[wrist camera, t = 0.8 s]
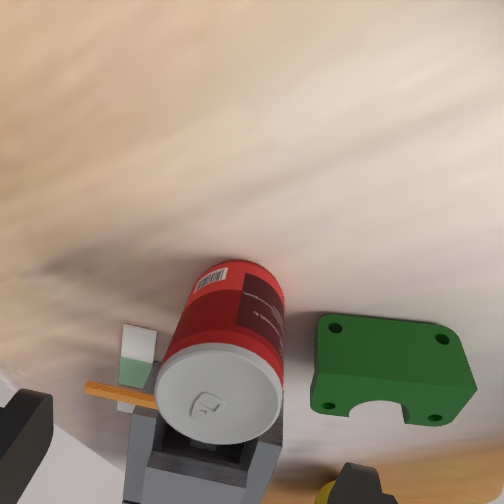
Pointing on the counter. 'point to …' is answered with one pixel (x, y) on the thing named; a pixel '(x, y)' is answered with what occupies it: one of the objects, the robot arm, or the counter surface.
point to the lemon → (324, 493)
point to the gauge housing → (193, 464)
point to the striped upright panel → (135, 360)
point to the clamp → (390, 368)
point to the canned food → (226, 357)
